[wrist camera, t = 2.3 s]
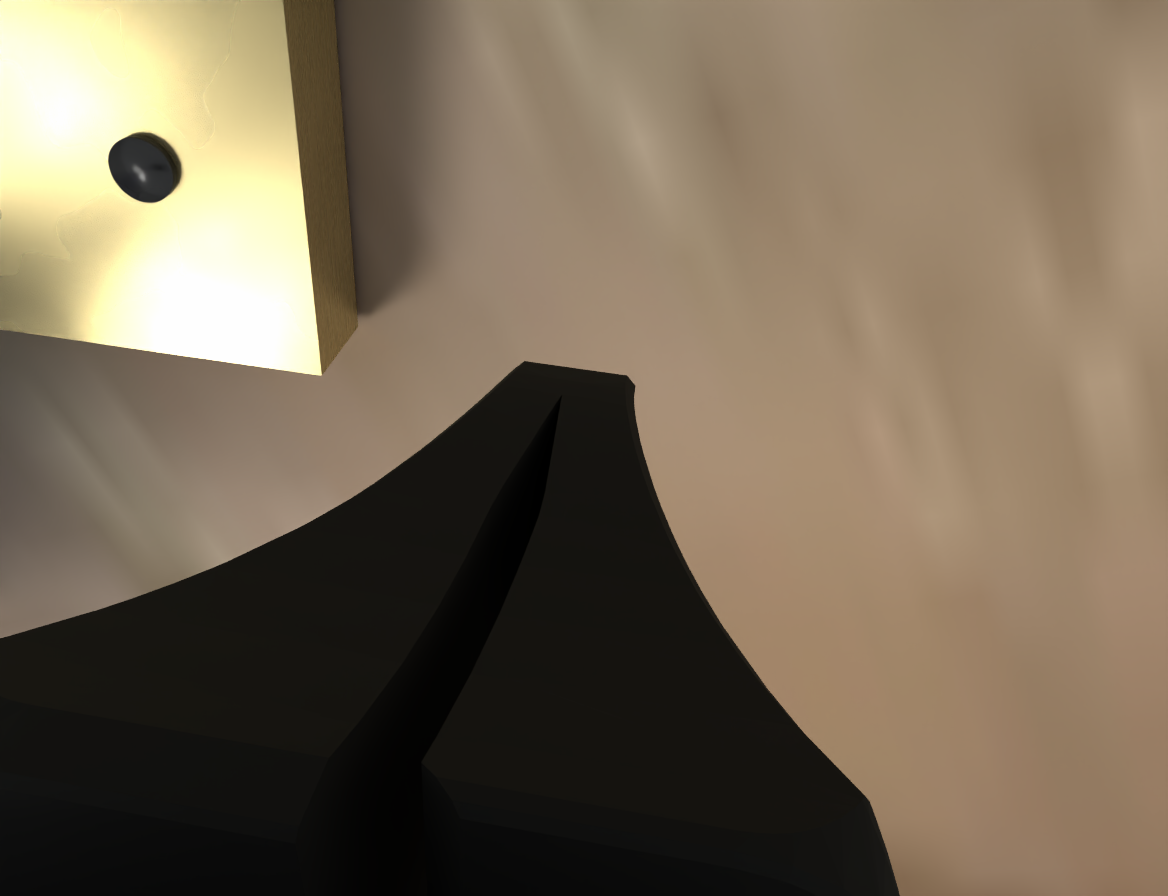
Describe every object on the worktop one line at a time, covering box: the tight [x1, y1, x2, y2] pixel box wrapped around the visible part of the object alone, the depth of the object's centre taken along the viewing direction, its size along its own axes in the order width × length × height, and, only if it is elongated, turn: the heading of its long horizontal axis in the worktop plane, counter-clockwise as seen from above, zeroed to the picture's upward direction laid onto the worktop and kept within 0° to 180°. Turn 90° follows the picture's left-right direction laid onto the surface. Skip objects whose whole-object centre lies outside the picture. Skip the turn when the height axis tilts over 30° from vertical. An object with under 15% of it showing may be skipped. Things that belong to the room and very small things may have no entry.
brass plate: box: [0, 0, 358, 376], centre depth 17 cm, size 13×12×3 cm
